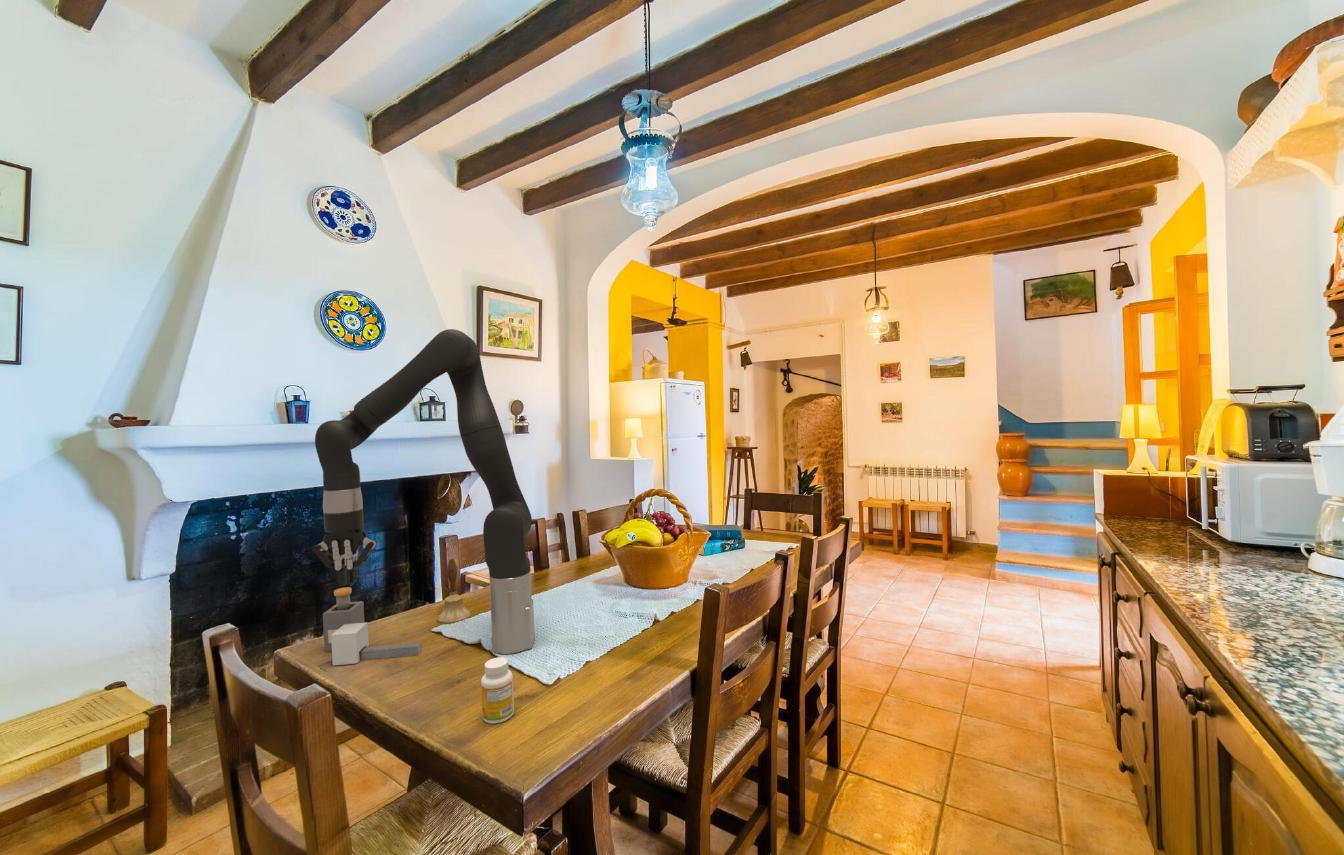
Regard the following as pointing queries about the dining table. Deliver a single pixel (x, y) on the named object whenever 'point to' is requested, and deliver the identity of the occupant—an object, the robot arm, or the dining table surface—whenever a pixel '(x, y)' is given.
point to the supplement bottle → (497, 691)
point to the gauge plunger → (343, 598)
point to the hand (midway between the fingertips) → (347, 584)
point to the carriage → (349, 643)
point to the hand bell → (453, 599)
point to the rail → (390, 651)
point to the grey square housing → (341, 620)
